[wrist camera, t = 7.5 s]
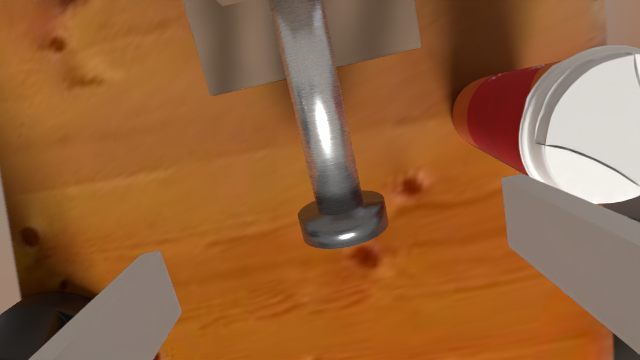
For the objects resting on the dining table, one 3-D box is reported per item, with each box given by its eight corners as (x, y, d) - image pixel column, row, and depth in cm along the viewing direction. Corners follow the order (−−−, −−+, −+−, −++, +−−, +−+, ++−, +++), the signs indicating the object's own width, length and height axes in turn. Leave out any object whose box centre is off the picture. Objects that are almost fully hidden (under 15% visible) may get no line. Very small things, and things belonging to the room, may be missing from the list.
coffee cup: (552, 105, 32) (746, 120, 17) (484, 175, 33) (609, 243, 19) (485, 41, 30) (632, -2, 16) (418, 117, 32) (496, 142, 18)
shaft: (305, 221, 26) (300, 256, 21) (238, -50, 22) (211, -95, 17) (381, 206, 26) (396, 237, 21) (328, -74, 22) (329, -127, 16)
